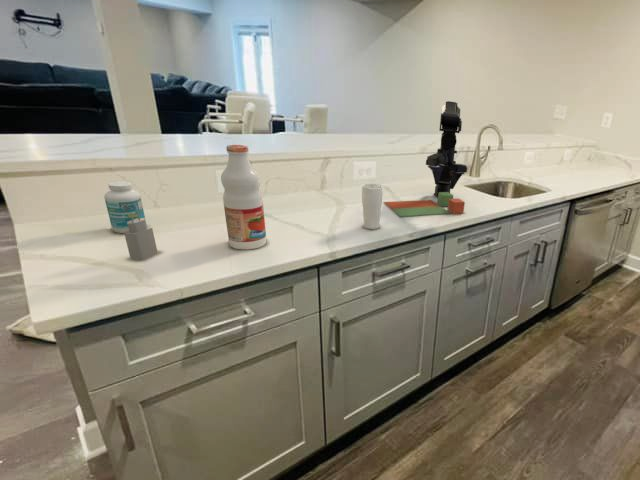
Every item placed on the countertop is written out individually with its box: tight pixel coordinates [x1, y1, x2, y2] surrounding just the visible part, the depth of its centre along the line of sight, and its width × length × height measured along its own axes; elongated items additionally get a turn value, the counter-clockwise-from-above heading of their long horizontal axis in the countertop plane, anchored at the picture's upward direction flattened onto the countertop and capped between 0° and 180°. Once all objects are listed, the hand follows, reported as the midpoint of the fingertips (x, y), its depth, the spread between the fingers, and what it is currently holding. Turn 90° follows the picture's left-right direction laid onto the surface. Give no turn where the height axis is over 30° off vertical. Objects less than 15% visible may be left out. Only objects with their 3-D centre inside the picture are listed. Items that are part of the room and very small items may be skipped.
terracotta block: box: [447, 198, 466, 215], centre depth 164 cm, size 5×5×5 cm
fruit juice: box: [220, 144, 267, 250], centre depth 106 cm, size 9×9×28 cm
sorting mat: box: [384, 199, 451, 218], centre depth 162 cm, size 22×18×1 cm
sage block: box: [437, 192, 454, 207], centre depth 171 cm, size 5×5×5 cm
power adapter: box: [123, 210, 159, 262], centre depth 95 cm, size 3×5×12 cm, turn 177°
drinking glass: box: [361, 183, 383, 230], centre depth 133 cm, size 7×7×15 cm
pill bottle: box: [104, 181, 147, 234], centre depth 107 cm, size 8×7×14 cm
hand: (444, 186), depth 154 cm, fingers open, 9 cm apart
